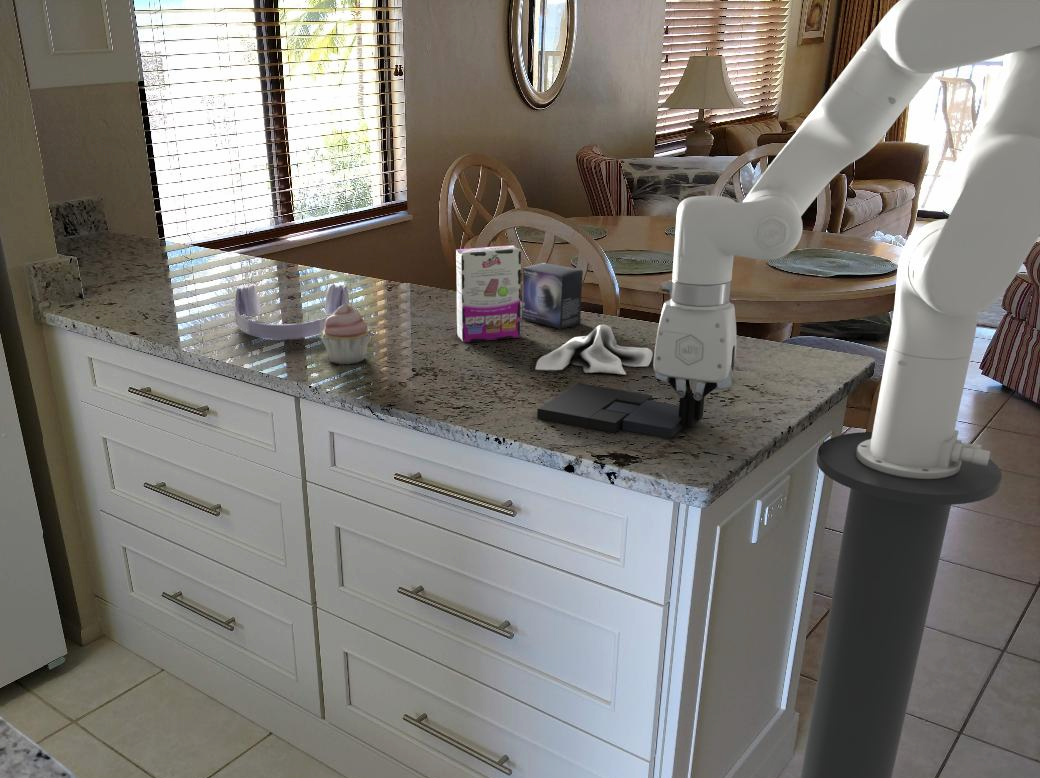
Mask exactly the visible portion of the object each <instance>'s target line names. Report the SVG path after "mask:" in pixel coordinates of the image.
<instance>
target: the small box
mask: <svg viewBox="0 0 1040 778" xmlns="http://www.w3.org/2000/svg"><path fill="white" fill-rule="evenodd" d="M583 275H584V270H583V269H579V268H573V267H569V266H568V267H567V266H561V265H557V264H552V263H547V262H541V263H537V264H533V265H529V266H525V267H522V277H521V279H522V280H521V281H522V282H521V286H522V287H521V317H520V320H525V321H529V322H532V323H535V324H540V325H543V326H548V327H550V328H555V329H559V330H562V329H565V328H568V327H572V326H575V325H579V324H581V314H582V313H581V312H582V294H583V293H582V292H583V291H582V288H583Z"/></svg>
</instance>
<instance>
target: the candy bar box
mask: <svg viewBox="0 0 1040 778" xmlns="http://www.w3.org/2000/svg"><path fill="white" fill-rule="evenodd" d="M455 252H456V253H455V262H456V263H455V264H456V335H457V337H458V339H459V340H460V341H461V342H462V343H471V342H473V343H474V342H484V341H495V340H508V339H509V340H510V339H518V338H521V283H522V282H521V281H522V280H521V279H522V277H521V276H522V273H521V272H522V271H521V269H522V268H521V267H522V249H520V248H519V247H517V246H516V245H501V246H500V245H499V246H486V247H473V248H459V249H456V250H455Z"/></svg>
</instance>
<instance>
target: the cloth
mask: <svg viewBox="0 0 1040 778" xmlns="http://www.w3.org/2000/svg"><path fill="white" fill-rule="evenodd" d="M653 353H654V352H653V350H651V348H648V347H633V346H621V345H619V344H617V340H616V337H615V335H614V333H613V329H612V327H611V326H610V325H607V324H599V325H597V326H596V327H595V328H594V329H593V330H592V331H590V332H589V333H588V334H587V335H583V336H575V337H573V338H571V339H569V340H568V341H567V342H566V343H564V344H562V345H561V346H559V347H558V348H556V349H553V350H552V351H551V352H549V353H547V354H545V355H542V356H541V357H540V358H539V359H537V361H536V364H535V369H534V370H536V371H563V370H564V369H565V368H566V367H567V366H568V365H569V364H570V365H572V366H579V367H582V368H583V372H584V373H585V374H588V373H589V374H593V373H603V374H617V375H625V376H626V375H627V372H626V371H625V370H624V368H623V366H624V367H633V368H637V367H641V368H642V367H649V366H650V363H651V362H652V360H653V359H652V358H653V357H654V354H653Z"/></svg>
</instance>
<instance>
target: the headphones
mask: <svg viewBox="0 0 1040 778" xmlns="http://www.w3.org/2000/svg"><path fill="white" fill-rule="evenodd" d="M235 291H236V292H235V302H234V306H233V310H234V319H235V324H236V326H237V325H238V326H239V327H240V328H239V327H238V326H237V328H238V329H239V330H240V331H241V332H242V333H245V334H247V335H249V336H253V337H256V338H260V339H268V340H294V339H302V338H309V337H312V336H316V335H319V333H322V332H323V330H325V322H326V319H327V318H328V317H330V316H332V315H334V313H335V311H336V310H337V309H338V308H339V307H340V306H342V305H344V304H347V305H349V304H350V296H349V291H348V287H347V285H344V286H343V285H341V284H338V285H336V284H334V283H331V284H329V286H328V289H327V291H326V296H325V301H324V311H325V312H324V314H325V316H324V317H321V318H318V319H315V320H310V321H305V322H301V323H291V324H290V323H288V324H287V323H286V324H283V323H281V324H273V323H271V324H269V323H261V322H257V321H253V320H251V319H253V318H254V317H249V316H258V317H257V318H260V317H261V303H260V299H259V295H258V291H257V287H256V284H254V283H251V284H249V285H248V286H246V285H244V286H242V287H237V289H236V290H235ZM243 314H244V316H242V317H241V315H243ZM259 315H260V316H259ZM326 315H329V316H326ZM246 316H248V317H249V318H248V317H246ZM245 317H246V318H245ZM241 328H242V329H241ZM243 329H244V330H243ZM246 330H247V331H246Z"/></svg>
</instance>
